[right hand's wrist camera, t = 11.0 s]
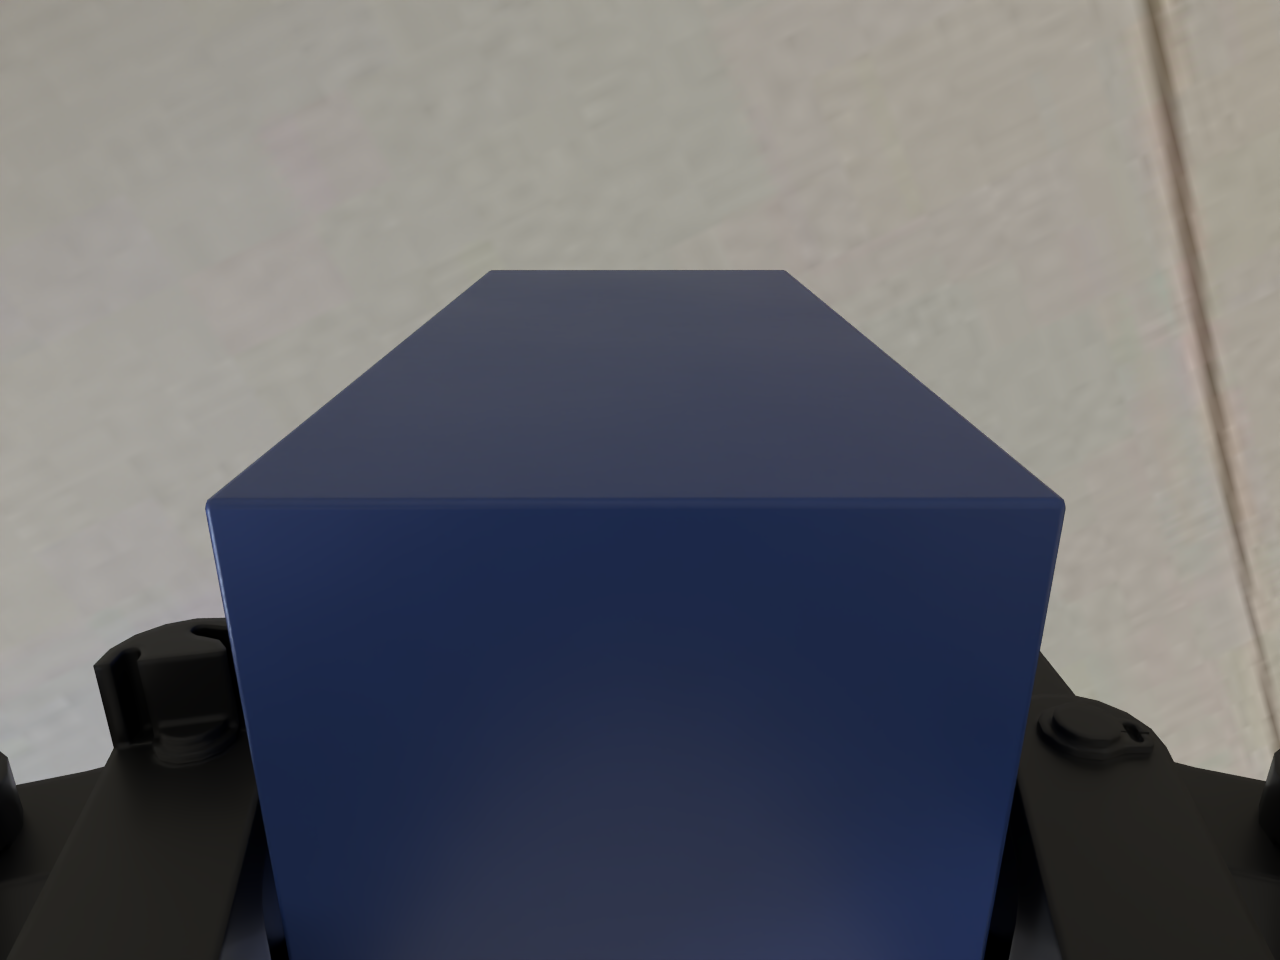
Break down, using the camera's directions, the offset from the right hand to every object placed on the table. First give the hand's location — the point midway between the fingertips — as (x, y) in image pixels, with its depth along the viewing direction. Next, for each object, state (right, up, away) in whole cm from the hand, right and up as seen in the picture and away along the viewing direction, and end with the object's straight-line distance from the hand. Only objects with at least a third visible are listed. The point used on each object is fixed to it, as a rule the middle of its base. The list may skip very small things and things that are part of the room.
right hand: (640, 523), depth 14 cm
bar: (0, -8, +4) cm, 9 cm away
